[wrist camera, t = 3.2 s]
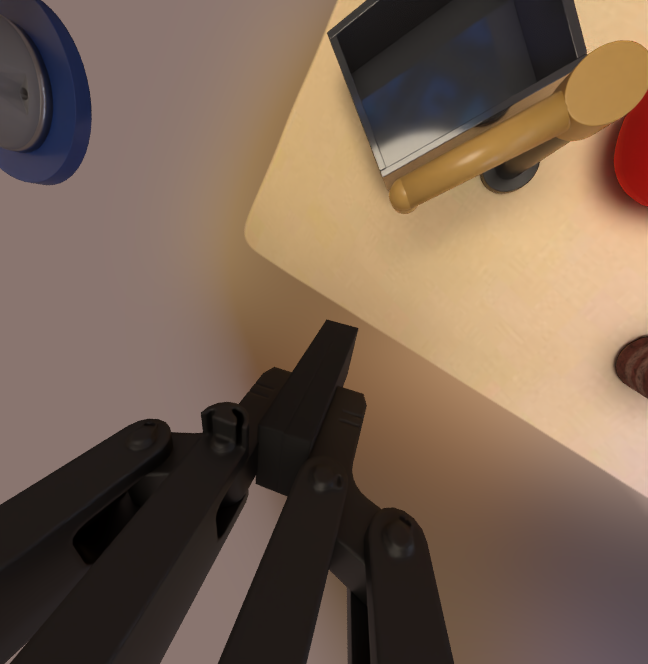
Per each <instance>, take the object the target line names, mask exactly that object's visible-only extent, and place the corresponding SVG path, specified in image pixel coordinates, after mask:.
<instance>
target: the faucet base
mask: <svg viewBox="0 0 648 664" xmlns="http://www.w3.org/2000/svg"><path fill="white" fill-rule="evenodd" d="M569 142H570V141H566V140H562V139H559V138H557V137H554V138H552V139H550V140H548V141H546V142H544V143H542V144H540V145H538V146H536V147H534V148H532V149H530V150H528V151H526V152H524V153H522V154H520V155H518V156H516V157H514V158H512V159H510V160H508V161H506V162H504V163H502V164H500V165H498V166H496V167H494V168H492V169H490V170H488V171H486V172H484V173H482V174H480V175H481V180H482V182H483V184H484V185H485V186H486V188H488V189H489V190H490V191H492V192H495V193H509V192H513V191H515V190H517V189H519V188H521V187H523V186H524V185H525V184H527V183H528V182H529V181H530V180H531V179H532V178H533V176H534V175H535V173H536V171H537V169H538V167H539V163H540V161H541V160H543V159H544V158H546V157H547V156H549V155H550V154H552V153H553V152H555V151H556V150H558V149H559V148H561V147H563V146H564V145H566V144H567V143H569Z"/></svg>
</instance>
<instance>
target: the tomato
mask: <svg viewBox="0 0 648 664" xmlns="http://www.w3.org/2000/svg"><path fill="white" fill-rule="evenodd" d="M614 167H615V173H616V176H617V179H618V182H619V184H620V185H621V187H622V188H623V190H624V191H625V193H626V194H627V195H629V196H630V197H631V198H633V199H634V200H635V201H636V202H638V203H639V204H641V205H644V206H647V207H648V90H647V91H646V93H645V95H644V96H643V98H642V99H641V101H640V102H639V103H638V104H637V105H636V106H635V107H634V108H633V109H632V110H631V111H630V112H629V113H627V115H626V117H625V119H624V121H623V124H622V127H621V129H620V132H619V135H618V139H617V143H616V147H615V154H614Z"/></svg>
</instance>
